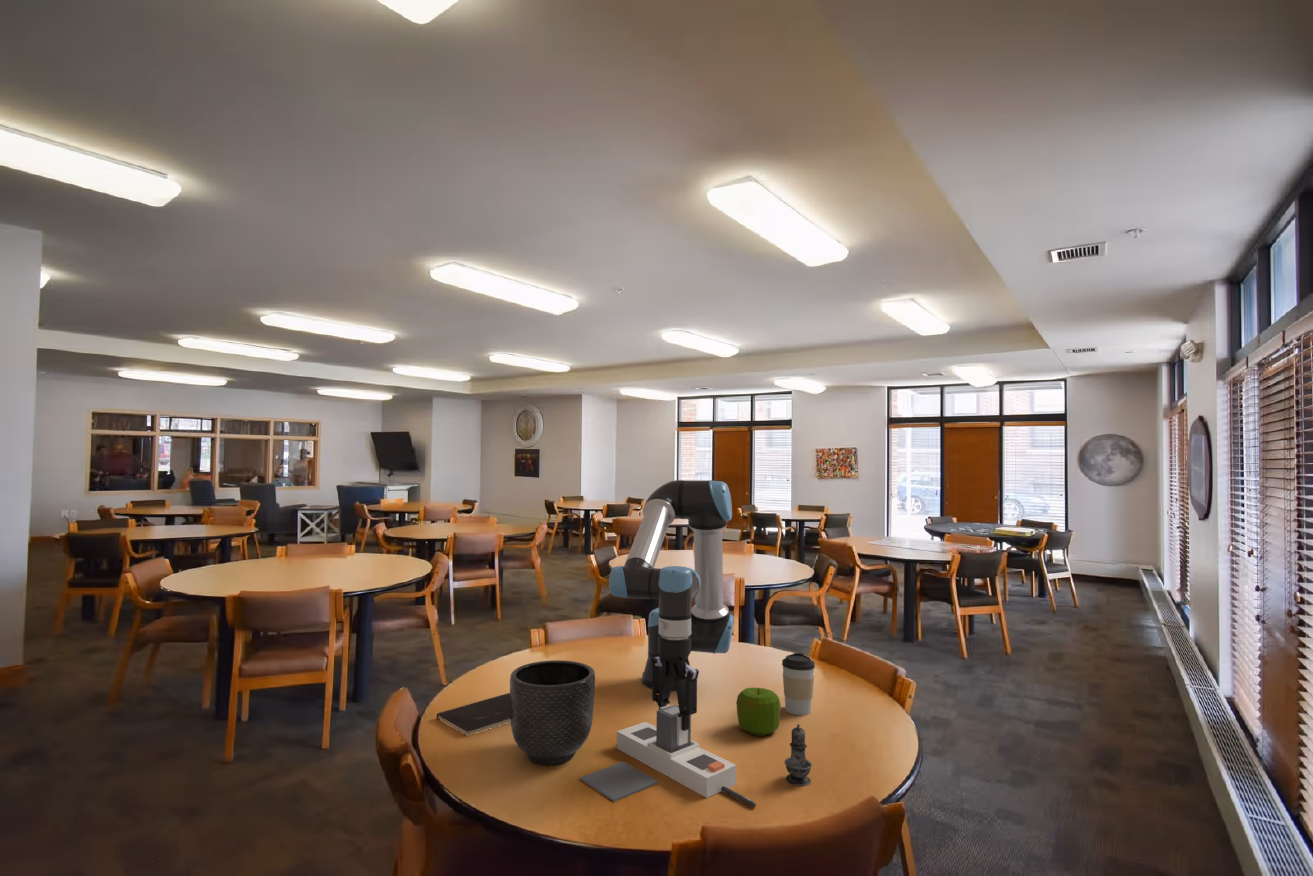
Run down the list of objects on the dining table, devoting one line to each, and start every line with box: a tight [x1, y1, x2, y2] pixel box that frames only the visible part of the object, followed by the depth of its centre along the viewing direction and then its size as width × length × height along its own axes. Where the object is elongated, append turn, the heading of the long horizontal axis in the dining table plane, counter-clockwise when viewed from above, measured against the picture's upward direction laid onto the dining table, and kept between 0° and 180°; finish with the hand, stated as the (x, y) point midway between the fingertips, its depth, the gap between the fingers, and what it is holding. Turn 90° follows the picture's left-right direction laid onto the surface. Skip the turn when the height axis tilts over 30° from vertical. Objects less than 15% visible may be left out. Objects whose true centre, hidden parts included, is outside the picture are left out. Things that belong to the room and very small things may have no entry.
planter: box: [509, 659, 596, 766], centre depth 149 cm, size 20×20×19 cm
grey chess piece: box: [784, 723, 813, 787], centre depth 139 cm, size 6×6×12 cm
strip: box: [616, 721, 757, 808], centre depth 142 cm, size 39×9×5 cm, turn 41°
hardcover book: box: [436, 692, 511, 737], centre depth 172 cm, size 16×23×2 cm
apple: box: [735, 687, 781, 736], centre depth 165 cm, size 11×11×11 cm
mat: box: [579, 761, 659, 803], centre depth 137 cm, size 12×12×1 cm
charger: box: [656, 704, 692, 753], centre depth 145 cm, size 5×6×8 cm
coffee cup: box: [781, 652, 816, 716], centre depth 179 cm, size 9×9×15 cm
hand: (673, 739), depth 145 cm, fingers closed on charger, 5 cm apart
